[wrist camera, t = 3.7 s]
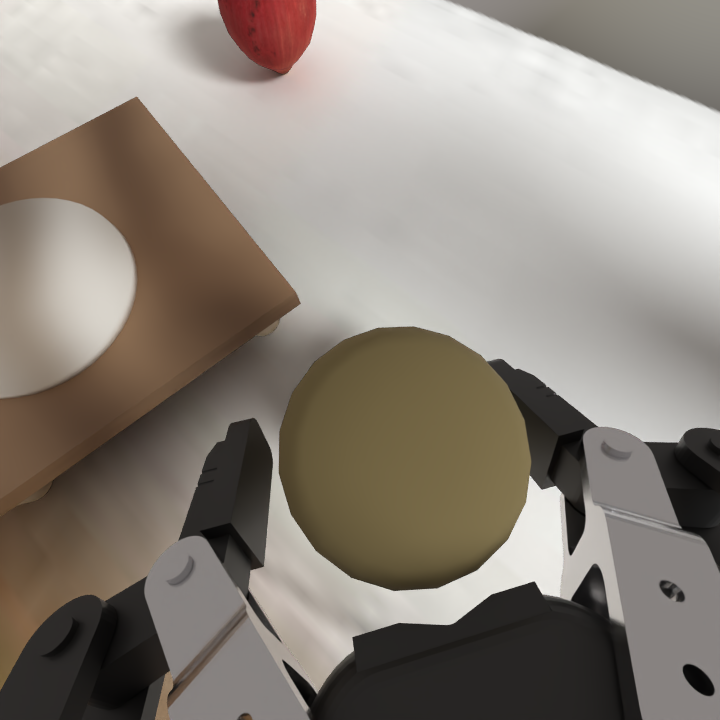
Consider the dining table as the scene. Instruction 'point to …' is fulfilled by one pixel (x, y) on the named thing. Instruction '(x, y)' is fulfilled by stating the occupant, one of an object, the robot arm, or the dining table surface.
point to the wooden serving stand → (113, 291)
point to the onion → (270, 29)
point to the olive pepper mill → (404, 458)
